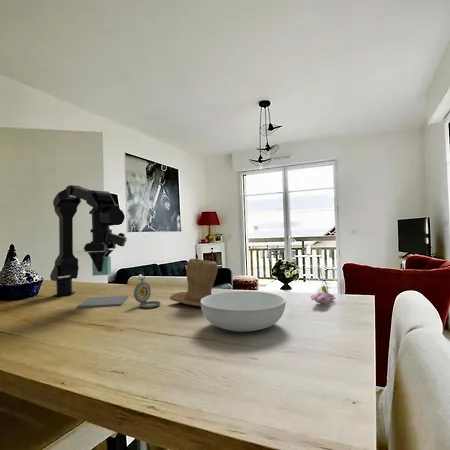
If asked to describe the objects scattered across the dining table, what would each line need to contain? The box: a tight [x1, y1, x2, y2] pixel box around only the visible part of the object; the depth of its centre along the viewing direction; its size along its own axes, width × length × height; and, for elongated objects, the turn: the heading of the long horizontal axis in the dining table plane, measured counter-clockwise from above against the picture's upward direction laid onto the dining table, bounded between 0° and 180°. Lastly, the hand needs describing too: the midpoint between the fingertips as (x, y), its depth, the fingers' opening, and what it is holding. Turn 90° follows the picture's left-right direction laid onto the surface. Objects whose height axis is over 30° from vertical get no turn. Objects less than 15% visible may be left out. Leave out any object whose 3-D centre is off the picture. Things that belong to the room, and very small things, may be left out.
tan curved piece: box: [169, 258, 219, 307], centre depth 106 cm, size 15×12×15 cm
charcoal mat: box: [76, 295, 129, 309], centre depth 114 cm, size 14×14×1 cm
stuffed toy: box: [310, 285, 337, 306], centre depth 101 cm, size 6×6×15 cm
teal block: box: [91, 255, 112, 277], centre depth 114 cm, size 5×5×6 cm
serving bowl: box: [200, 290, 287, 333], centre depth 80 cm, size 21×21×7 cm
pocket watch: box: [133, 274, 161, 309], centre depth 106 cm, size 8×8×10 cm
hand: (102, 270), depth 114 cm, fingers closed on teal block, 5 cm apart
